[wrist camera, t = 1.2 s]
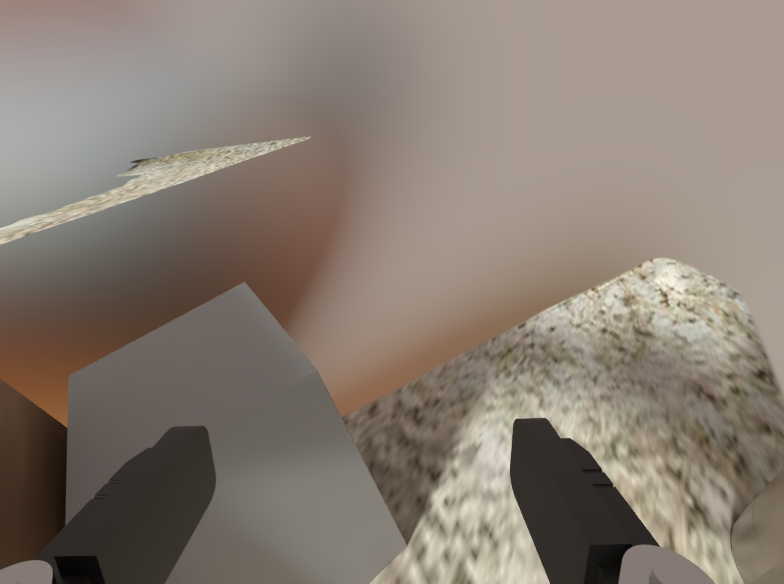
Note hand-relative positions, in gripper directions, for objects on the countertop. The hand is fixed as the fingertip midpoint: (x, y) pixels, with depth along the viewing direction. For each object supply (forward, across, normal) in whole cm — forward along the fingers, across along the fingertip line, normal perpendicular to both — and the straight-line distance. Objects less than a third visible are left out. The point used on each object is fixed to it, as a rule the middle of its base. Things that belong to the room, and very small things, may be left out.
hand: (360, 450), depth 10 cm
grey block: (+16, +5, +22) cm, 28 cm away
